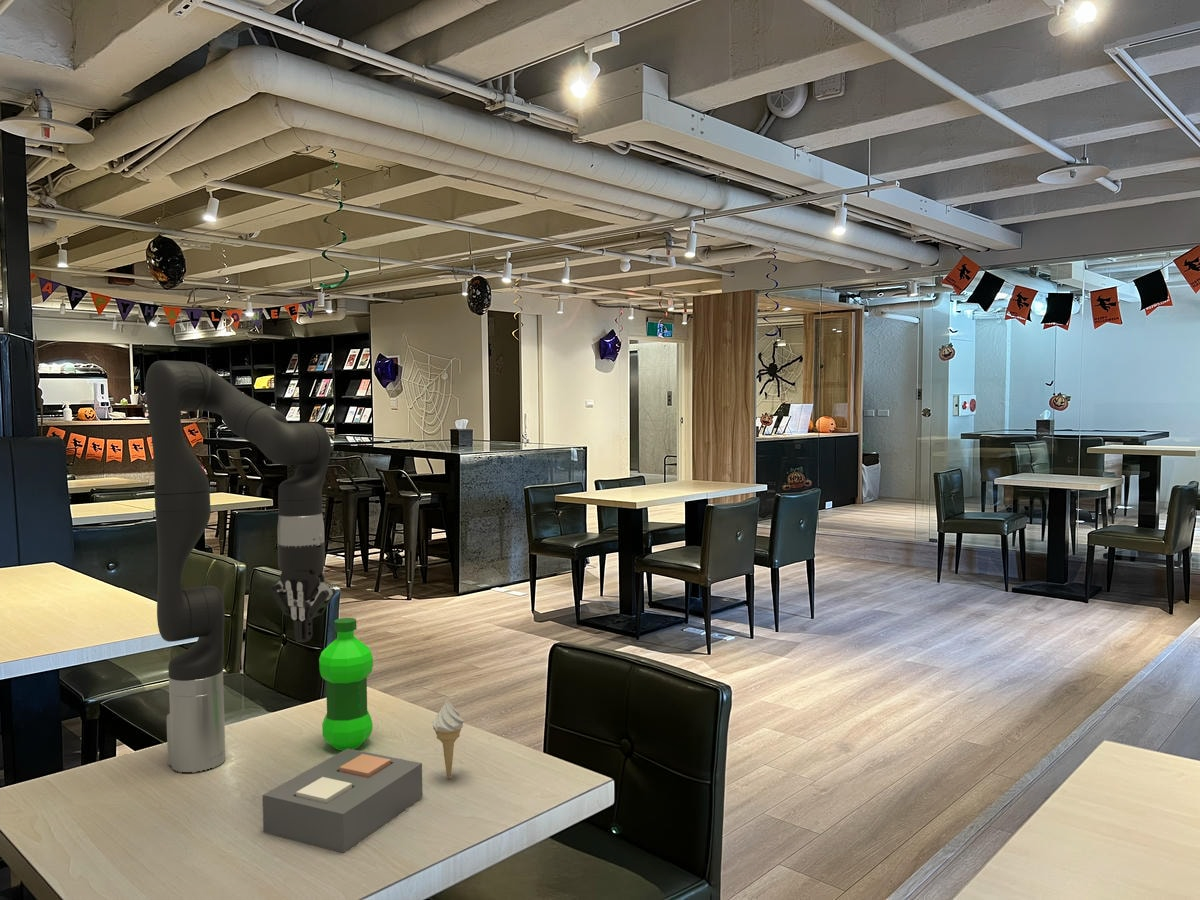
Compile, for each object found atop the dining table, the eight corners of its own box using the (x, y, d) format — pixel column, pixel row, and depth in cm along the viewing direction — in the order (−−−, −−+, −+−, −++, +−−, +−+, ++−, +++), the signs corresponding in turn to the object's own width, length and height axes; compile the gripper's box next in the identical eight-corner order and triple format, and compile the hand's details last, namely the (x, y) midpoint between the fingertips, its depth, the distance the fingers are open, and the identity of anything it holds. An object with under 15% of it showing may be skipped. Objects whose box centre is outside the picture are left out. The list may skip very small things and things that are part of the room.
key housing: (263, 831, 138) (262, 794, 138) (348, 781, 156) (347, 748, 156) (343, 852, 131) (343, 814, 131) (422, 797, 150) (422, 763, 149)
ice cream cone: (470, 775, 158) (469, 694, 157) (452, 788, 153) (451, 704, 152) (444, 770, 161) (443, 690, 160) (426, 782, 156) (425, 699, 155)
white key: (296, 810, 138) (296, 791, 137) (322, 794, 143) (322, 776, 143) (326, 817, 135) (326, 798, 135) (352, 801, 141) (351, 783, 140)
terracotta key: (339, 784, 147) (339, 767, 146) (362, 770, 152) (362, 753, 152) (368, 790, 144) (368, 773, 144) (391, 776, 150) (390, 759, 149)
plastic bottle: (312, 743, 173) (310, 619, 172) (363, 731, 180) (361, 611, 178) (330, 760, 165) (327, 630, 164) (383, 747, 172) (381, 621, 170)
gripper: (254, 541, 148) (257, 642, 149) (316, 546, 142) (318, 651, 143) (287, 534, 155) (289, 631, 156) (347, 539, 149) (349, 639, 150)
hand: (303, 640), depth 149 cm, fingers closed
